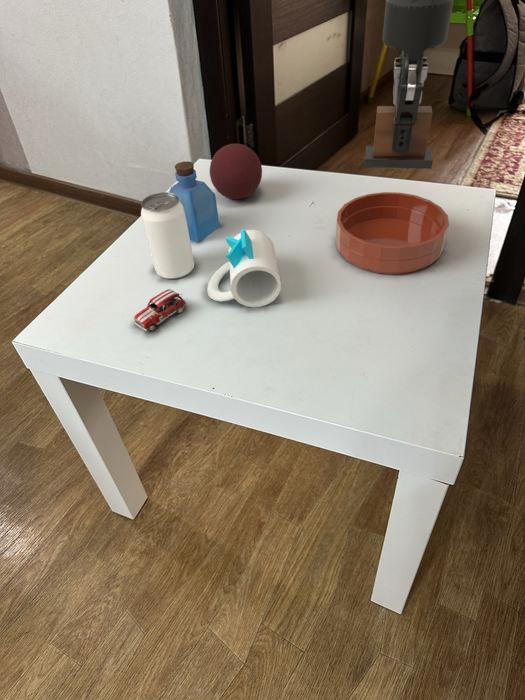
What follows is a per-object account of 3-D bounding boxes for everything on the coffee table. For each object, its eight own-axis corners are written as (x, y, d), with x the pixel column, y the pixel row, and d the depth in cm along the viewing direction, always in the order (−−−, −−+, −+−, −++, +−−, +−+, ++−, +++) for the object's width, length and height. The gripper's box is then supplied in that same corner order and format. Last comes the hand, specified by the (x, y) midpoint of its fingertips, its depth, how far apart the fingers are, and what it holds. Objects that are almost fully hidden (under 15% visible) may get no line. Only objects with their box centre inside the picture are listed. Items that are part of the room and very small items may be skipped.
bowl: (439, 220, 87) (444, 193, 83) (446, 278, 75) (452, 250, 71) (340, 216, 90) (341, 190, 86) (331, 272, 78) (332, 245, 74)
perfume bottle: (198, 242, 86) (186, 176, 78) (171, 234, 89) (157, 169, 81) (219, 226, 90) (210, 161, 82) (193, 218, 93) (181, 154, 84)
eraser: (429, 155, 71) (438, 103, 66) (431, 168, 68) (441, 115, 63) (365, 154, 72) (369, 103, 67) (364, 167, 69) (368, 115, 64)
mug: (253, 204, 74) (260, 247, 66) (280, 249, 80) (289, 294, 72) (187, 238, 77) (185, 284, 69) (217, 279, 83) (219, 326, 75)
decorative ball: (265, 184, 101) (262, 134, 94) (261, 208, 94) (257, 156, 87) (217, 185, 102) (210, 135, 95) (209, 209, 95) (201, 158, 88)
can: (203, 266, 81) (190, 198, 73) (172, 285, 78) (156, 216, 70) (177, 253, 85) (163, 186, 76) (147, 270, 81) (129, 203, 73)
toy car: (133, 325, 72) (127, 308, 69) (176, 298, 75) (172, 281, 73) (148, 336, 70) (142, 319, 67) (191, 308, 74) (188, 291, 71)
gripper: (460, 8, 51) (430, 170, 63) (449, -18, 61) (425, 127, 73) (385, 10, 52) (370, 168, 64) (386, -15, 62) (373, 127, 74)
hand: (399, 146), depth 69 cm, fingers closed on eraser, 2 cm apart
